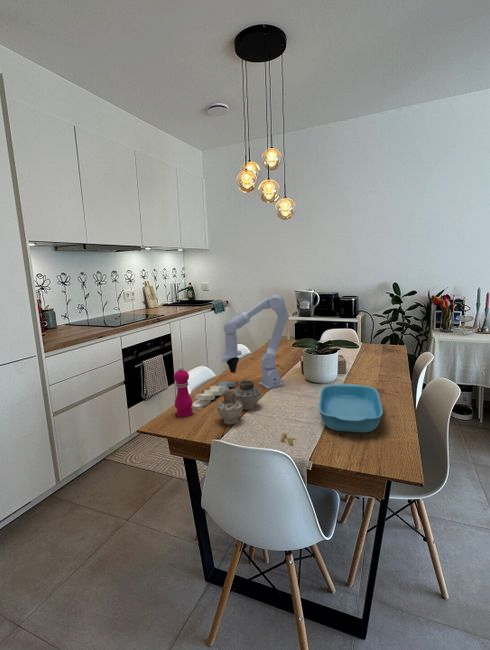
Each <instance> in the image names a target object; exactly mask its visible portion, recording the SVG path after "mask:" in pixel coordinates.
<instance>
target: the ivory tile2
mask: <svg viewBox="0 0 490 650" xmlns="http://www.w3.org/2000/svg"><path fill="white" fill-rule="evenodd" d="M209 390H213V391H225V390H230V387H221V386H218V385H210V387H209Z"/></svg>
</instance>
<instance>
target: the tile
mask: <svg viewBox="0 0 490 650" xmlns="http://www.w3.org/2000/svg"><path fill="white" fill-rule="evenodd" d="M222 392H223V391H213V390H210V389H204V390H203V394H206V395H213V396H214V395H215V396H223V393H222Z"/></svg>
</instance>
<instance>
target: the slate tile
mask: <svg viewBox="0 0 490 650" xmlns="http://www.w3.org/2000/svg"><path fill="white" fill-rule="evenodd" d="M236 385H237V382H233V381H217V386H221V387H229V388H231V387H234V388H235V387H236Z"/></svg>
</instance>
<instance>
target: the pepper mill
mask: <svg viewBox="0 0 490 650" xmlns="http://www.w3.org/2000/svg"><path fill="white" fill-rule="evenodd" d="M189 379H190V374H189V372H188V371H187V370H184V367H182V366H179V367H178V370H177V371H175V373H174V375H173V380H174V382H175V387H176V389H177V390H176V392H177V393H176V396H175V399H174V408H175V409H176V416H177V417H178V416H179V418H186V417H190V416H192V414H193V409H192V408H191V407H192V405H193V403H194V402H193V398H192V397H191V395H190V393H189V388H188V386H189Z"/></svg>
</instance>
